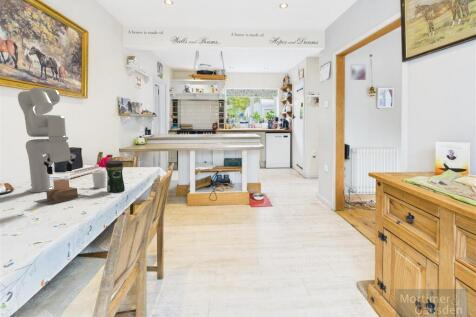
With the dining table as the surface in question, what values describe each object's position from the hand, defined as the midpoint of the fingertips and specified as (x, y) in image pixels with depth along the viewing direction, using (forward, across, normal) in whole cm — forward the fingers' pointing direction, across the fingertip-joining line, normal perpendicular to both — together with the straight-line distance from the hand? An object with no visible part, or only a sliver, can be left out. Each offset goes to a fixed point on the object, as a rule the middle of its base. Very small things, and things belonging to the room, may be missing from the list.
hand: (60, 172), depth 144 cm
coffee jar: (+16, -28, +7) cm, 33 cm away
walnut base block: (+14, 0, +1) cm, 14 cm away
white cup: (+16, -32, -13) cm, 38 cm away
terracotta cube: (+9, 0, +1) cm, 9 cm away
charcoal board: (+15, 0, +1) cm, 15 cm away
